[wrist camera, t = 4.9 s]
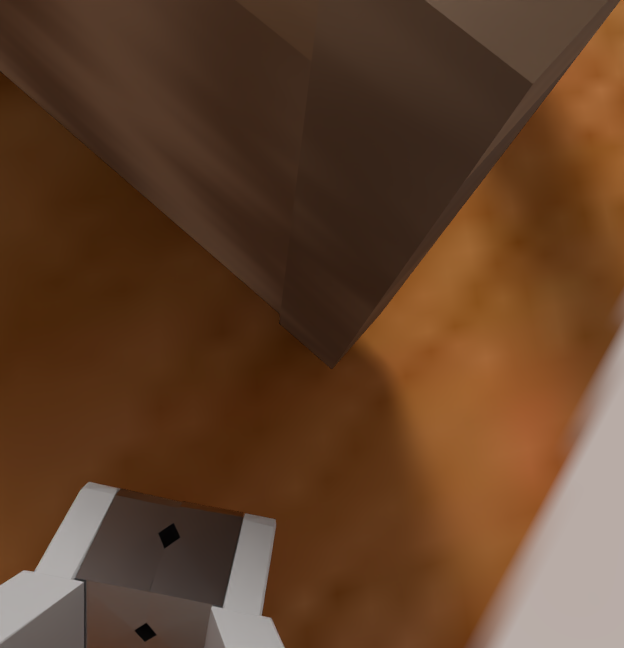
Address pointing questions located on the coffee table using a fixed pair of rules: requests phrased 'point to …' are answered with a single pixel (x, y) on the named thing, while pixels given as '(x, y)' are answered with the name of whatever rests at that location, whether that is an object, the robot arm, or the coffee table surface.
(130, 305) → the coffee table surface
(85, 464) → the coffee table surface
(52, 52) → the wooden gate panel
